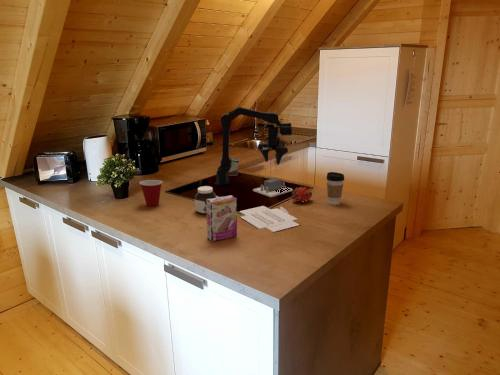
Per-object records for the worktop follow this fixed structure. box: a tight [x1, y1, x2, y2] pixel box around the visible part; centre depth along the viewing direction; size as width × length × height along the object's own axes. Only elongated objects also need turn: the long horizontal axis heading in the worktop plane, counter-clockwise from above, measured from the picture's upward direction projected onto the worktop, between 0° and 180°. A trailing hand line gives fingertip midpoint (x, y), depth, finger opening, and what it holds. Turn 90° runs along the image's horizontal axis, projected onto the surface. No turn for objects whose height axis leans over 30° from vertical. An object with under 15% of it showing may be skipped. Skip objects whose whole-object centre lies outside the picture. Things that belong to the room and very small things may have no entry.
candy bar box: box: [206, 194, 238, 243], centre depth 156 cm, size 11×5×16 cm, turn 118°
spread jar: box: [194, 185, 219, 216], centre depth 185 cm, size 12×11×12 cm
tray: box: [252, 181, 294, 198], centre depth 214 cm, size 16×14×4 cm
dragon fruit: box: [291, 186, 313, 204], centre depth 196 cm, size 8×8×12 cm
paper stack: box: [239, 205, 300, 233], centre depth 177 cm, size 20×28×4 cm
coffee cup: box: [326, 171, 345, 206], centre depth 193 cm, size 8×8×15 cm
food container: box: [219, 157, 240, 177], centre depth 246 cm, size 12×6×10 cm, turn 84°
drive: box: [263, 177, 283, 192], centre depth 213 cm, size 9×4×5 cm, turn 132°
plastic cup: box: [139, 179, 163, 208], centre depth 193 cm, size 11×11×12 cm
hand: (272, 163), depth 224 cm, fingers open, 9 cm apart
